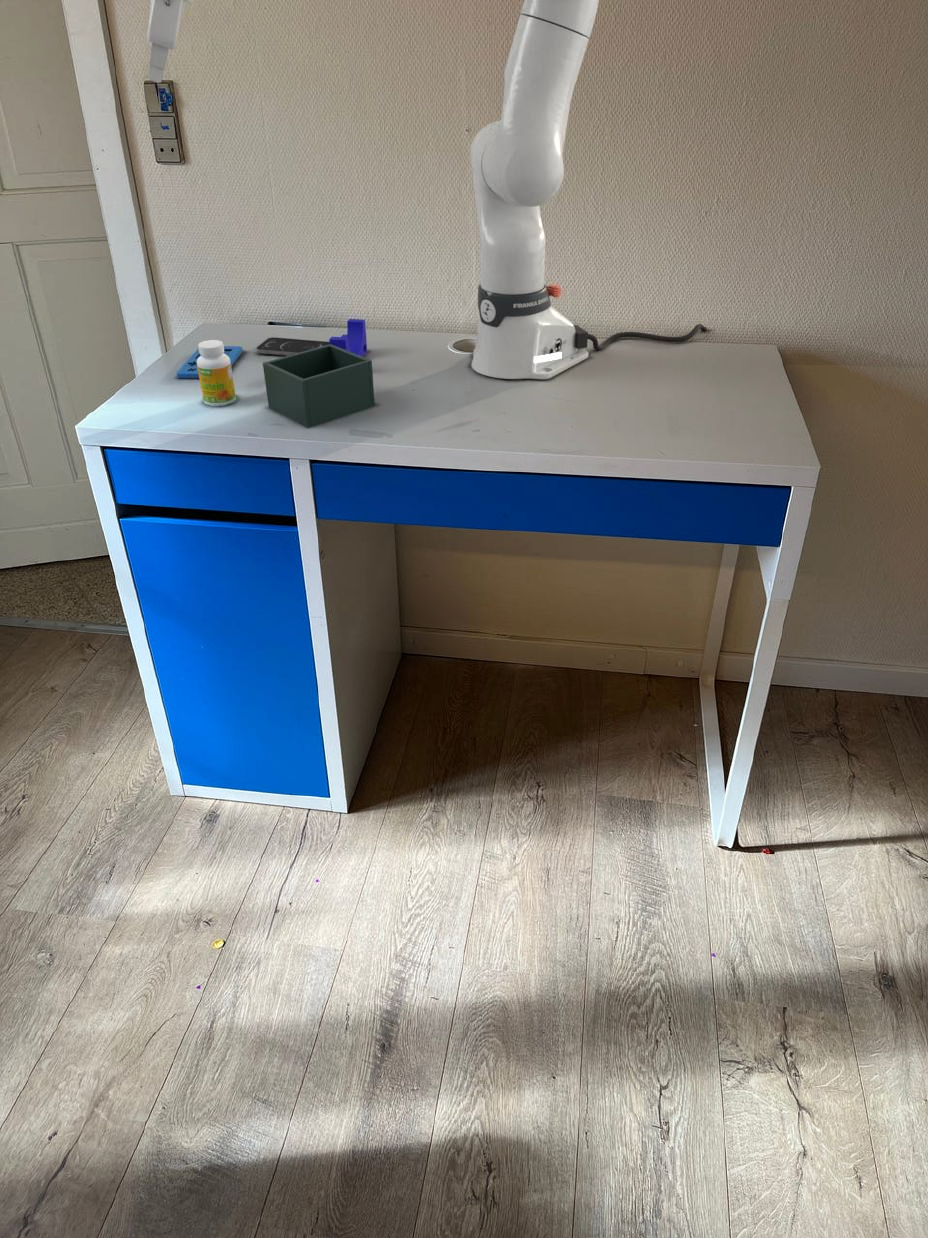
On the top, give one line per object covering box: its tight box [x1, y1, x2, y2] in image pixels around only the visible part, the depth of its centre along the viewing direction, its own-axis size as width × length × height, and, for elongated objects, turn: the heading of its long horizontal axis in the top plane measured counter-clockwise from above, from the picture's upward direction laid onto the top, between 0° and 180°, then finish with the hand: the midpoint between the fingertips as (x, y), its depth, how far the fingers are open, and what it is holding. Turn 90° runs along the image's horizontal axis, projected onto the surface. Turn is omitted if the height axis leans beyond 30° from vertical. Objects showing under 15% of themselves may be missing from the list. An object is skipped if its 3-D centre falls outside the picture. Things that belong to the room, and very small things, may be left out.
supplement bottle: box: [197, 339, 237, 407], centre depth 154 cm, size 5×5×10 cm
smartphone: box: [255, 336, 330, 356], centre depth 177 cm, size 8×1×15 cm
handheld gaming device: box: [176, 345, 243, 379], centre depth 171 cm, size 8×1×15 cm
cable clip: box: [328, 318, 368, 357], centre depth 171 cm, size 12×4×6 cm, turn 168°
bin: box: [262, 344, 376, 428], centre depth 152 cm, size 13×11×8 cm
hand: (155, 78), depth 132 cm, fingers open, 8 cm apart
